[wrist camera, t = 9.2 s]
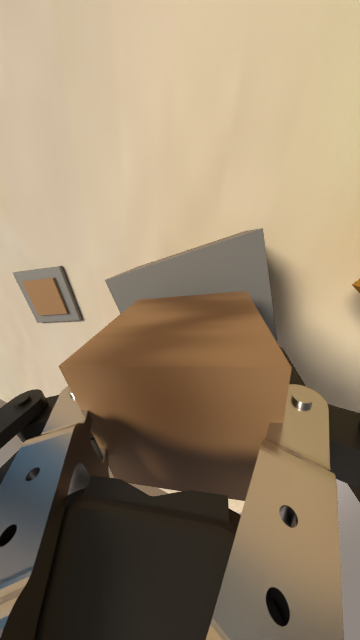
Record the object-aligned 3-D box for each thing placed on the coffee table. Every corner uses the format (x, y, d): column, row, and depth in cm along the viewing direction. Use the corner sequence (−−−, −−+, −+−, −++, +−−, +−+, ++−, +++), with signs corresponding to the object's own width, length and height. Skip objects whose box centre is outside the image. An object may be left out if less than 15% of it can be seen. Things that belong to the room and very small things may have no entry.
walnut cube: (246, 291, 9) (291, 367, 4) (244, 381, 12) (270, 505, 6) (138, 299, 10) (58, 365, 5) (156, 379, 13) (116, 480, 8)
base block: (244, 231, 15) (262, 228, 9) (261, 335, 18) (281, 376, 13) (138, 266, 17) (104, 280, 12) (171, 351, 21) (156, 390, 16)
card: (61, 266, 19) (56, 267, 18) (82, 318, 21) (77, 321, 20) (16, 272, 20) (9, 273, 19) (40, 321, 22) (35, 323, 22)
